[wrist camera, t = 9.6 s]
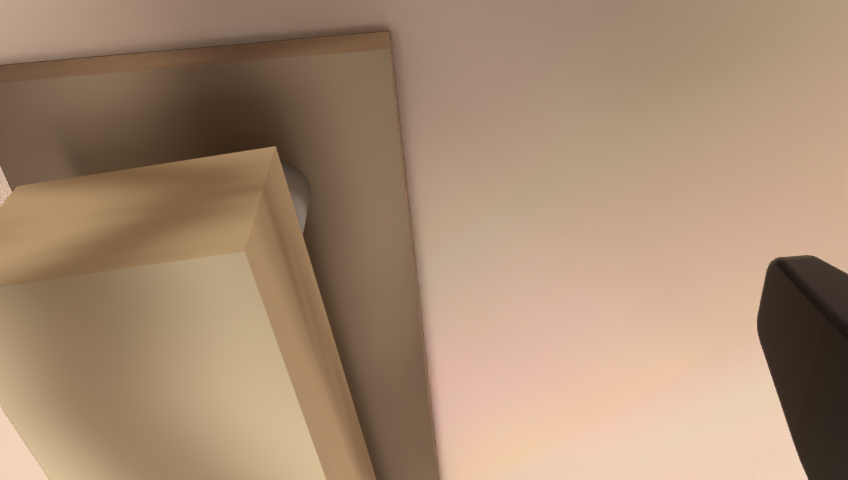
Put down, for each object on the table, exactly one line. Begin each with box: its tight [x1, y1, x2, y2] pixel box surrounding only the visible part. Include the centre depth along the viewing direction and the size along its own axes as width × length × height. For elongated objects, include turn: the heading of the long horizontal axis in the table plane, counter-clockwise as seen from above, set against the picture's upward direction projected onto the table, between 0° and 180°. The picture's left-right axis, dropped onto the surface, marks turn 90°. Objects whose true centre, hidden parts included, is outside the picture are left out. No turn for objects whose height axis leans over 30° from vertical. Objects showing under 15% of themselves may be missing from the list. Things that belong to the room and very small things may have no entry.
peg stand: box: [0, 31, 440, 480], centre depth 23 cm, size 10×19×3 cm, turn 5°
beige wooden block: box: [0, 146, 376, 480], centre depth 20 cm, size 6×16×4 cm, turn 9°
